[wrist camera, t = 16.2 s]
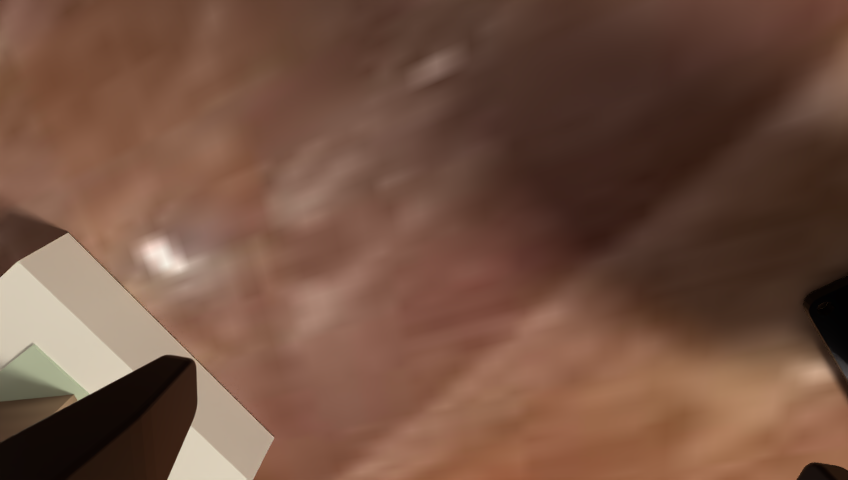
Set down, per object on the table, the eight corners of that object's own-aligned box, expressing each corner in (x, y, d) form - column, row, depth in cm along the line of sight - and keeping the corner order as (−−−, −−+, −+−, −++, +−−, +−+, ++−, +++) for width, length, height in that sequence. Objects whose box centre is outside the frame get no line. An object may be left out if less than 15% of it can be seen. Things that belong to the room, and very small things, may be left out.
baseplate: (274, 437, 25) (250, 484, 23) (113, 526, 29) (78, 574, 27) (68, 232, 22) (15, 262, 19) (-80, 364, 26) (-138, 402, 24)
